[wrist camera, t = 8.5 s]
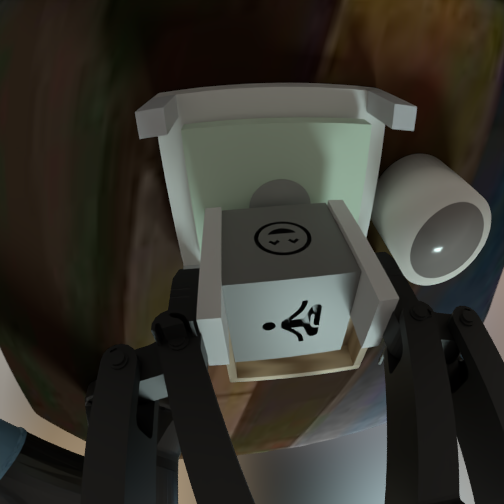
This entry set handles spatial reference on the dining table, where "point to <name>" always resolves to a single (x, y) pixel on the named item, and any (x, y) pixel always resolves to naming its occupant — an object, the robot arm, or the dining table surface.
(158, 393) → the robot arm
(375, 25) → the dining table surface
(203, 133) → the plate
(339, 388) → the dining table surface
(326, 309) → the dice cube
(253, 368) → the trough
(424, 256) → the cup
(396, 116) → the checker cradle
